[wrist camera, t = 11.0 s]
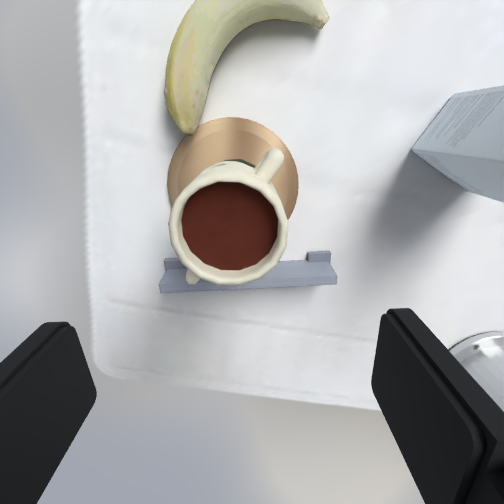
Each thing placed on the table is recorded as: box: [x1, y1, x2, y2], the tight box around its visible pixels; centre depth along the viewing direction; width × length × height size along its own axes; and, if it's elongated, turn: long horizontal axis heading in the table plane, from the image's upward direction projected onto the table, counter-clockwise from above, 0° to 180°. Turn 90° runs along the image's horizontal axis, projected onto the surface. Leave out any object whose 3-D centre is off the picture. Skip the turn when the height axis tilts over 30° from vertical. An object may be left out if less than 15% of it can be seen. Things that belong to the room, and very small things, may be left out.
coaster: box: [168, 117, 298, 220], centre depth 29 cm, size 13×13×1 cm
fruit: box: [164, 0, 329, 136], centre depth 23 cm, size 7×15×3 cm, turn 126°
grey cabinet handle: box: [159, 251, 337, 293], centre depth 31 cm, size 18×3×4 cm, turn 93°
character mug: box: [168, 148, 288, 286], centre depth 23 cm, size 11×7×13 cm, turn 145°
